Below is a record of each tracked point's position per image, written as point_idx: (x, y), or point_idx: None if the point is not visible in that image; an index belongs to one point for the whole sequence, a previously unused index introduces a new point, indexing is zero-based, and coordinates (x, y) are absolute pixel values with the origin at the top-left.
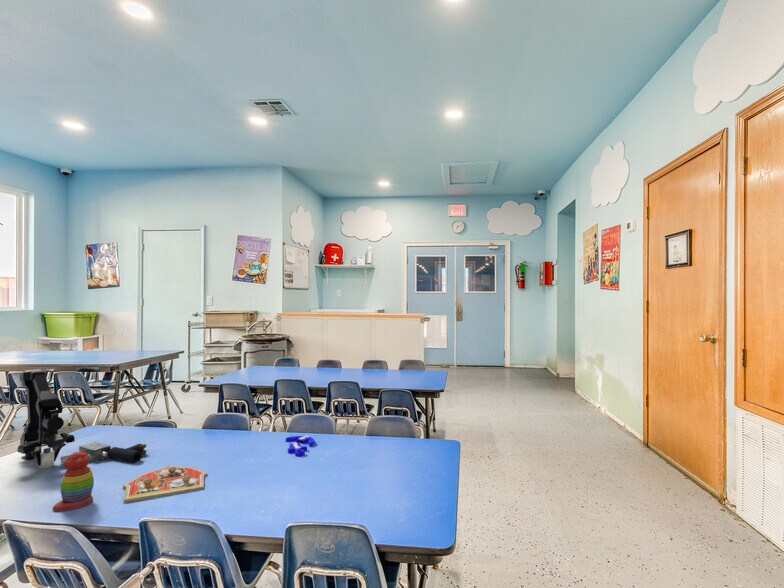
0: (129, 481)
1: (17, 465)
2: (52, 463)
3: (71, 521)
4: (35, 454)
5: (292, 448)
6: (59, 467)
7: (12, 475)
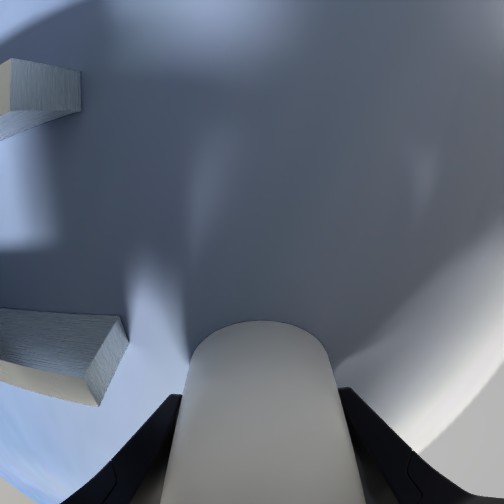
0: None
1: None
2: (217, 355)
3: None
4: (476, 499)
5: None
6: (176, 206)
7: (495, 348)
